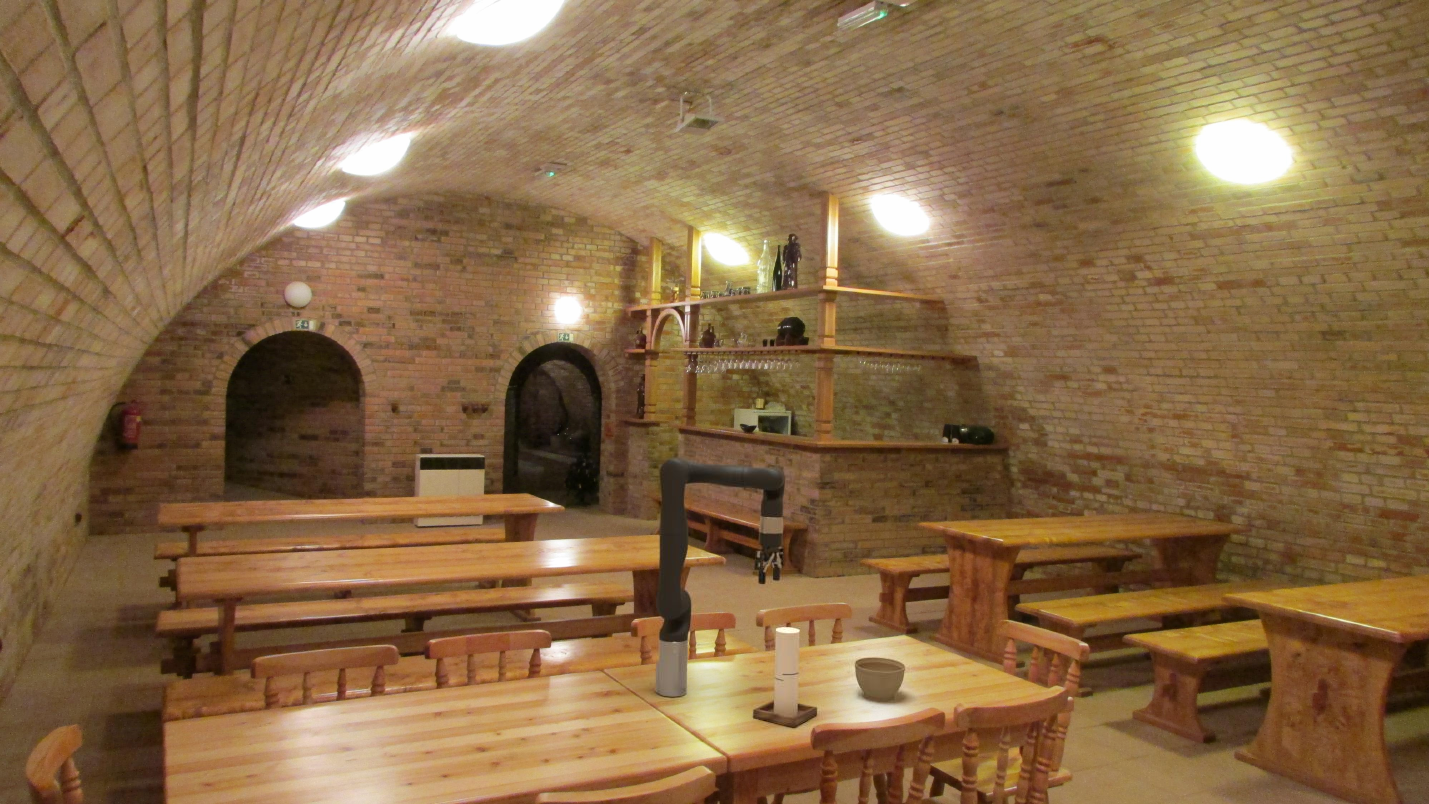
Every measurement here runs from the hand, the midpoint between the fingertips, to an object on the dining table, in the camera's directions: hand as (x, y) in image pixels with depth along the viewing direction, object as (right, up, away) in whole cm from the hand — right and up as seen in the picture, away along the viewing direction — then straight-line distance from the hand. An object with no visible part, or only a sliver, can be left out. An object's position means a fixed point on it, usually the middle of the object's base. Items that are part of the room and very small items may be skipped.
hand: (769, 582), depth 305 cm
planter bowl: (+36, -39, +7) cm, 53 cm away
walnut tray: (+4, -38, -15) cm, 41 cm away
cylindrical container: (+4, -37, -15) cm, 40 cm away
